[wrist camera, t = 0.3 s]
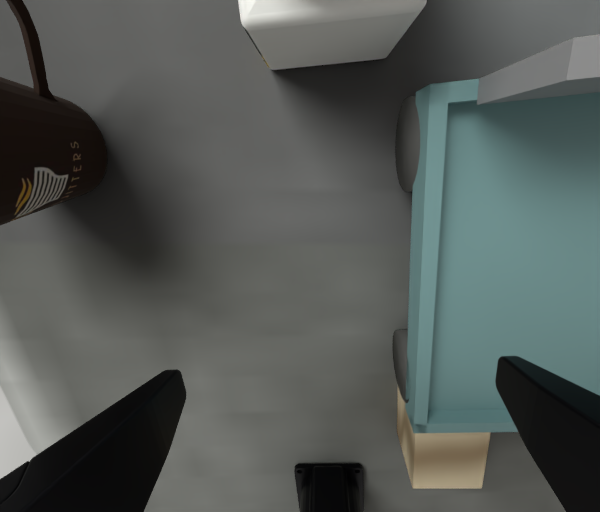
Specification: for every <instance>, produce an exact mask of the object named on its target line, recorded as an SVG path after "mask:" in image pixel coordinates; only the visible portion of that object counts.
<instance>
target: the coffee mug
mask: <svg viewBox="0 0 600 512" xmlns="http://www.w3.org/2000/svg"><path fill="white" fill-rule="evenodd" d="M6 1H7V2H8V4H9V6H10V8H11V10H12V11H13V13H14V15H15V16H16V18H17V20H18V22H19V25H20V28H21V31H22V35H23V39H24V43H25V47H26V51H27V56H28V60H29V65H30V70H31V74H32V78H33V83H34V89H33V88H31V87H28V86H25V85H22V84H19V83H16V82H13V81H10V80H7V79H5V78H2V77H0V225H2V224H5V223H8V222H10V221H13V220H16V219H18V218H21V217H24V216H26V215H29V214H32V213H34V212H37V211H40V210H43V209H45V208H48V207H51V206H53V205H56V204H59V203H61V202H64V201H67V200H69V199H72V198H75V197H77V196H80V195H83V194H85V193H88V192H89V191H91V190H93V189H94V188H95V187H96V186H98V185H99V183H100V182H101V180H102V179H103V177H104V174H105V171H106V167H107V150H106V146H105V142H104V139H103V137H102V135H101V132H100V130H99V129H98V127H97V126H96V124H95V122H94V121H93V120H92V119H91V118H90V117H89V115H88V114H87V113H86V112H84V111H83V110H82V109H81V108H80V107H78V106H77V105H75V104H73V103H72V102H70V101H67V100H65V99H62V98H59V97H57V96H54V95H52V93H51V92H50V91H49V89H48V83H47V79H46V72H45V66H44V61H43V56H42V51H41V46H40V41H39V37H38V34H37V31H36V29H35V26H34V24H33V21H32V19H31V16H30V14H29V12H28V10H27V8H26V6H25V4H24V3H23V1H22V0H6Z"/></svg>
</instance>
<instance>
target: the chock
mask: <svg viewBox="0 0 600 512" xmlns="http://www.w3.org/2000/svg"><path fill="white" fill-rule="evenodd" d="M397 434H398V437H399V441H400V444H401V448H402V452H403V455H404V459H405V462H406V466H407V470H408V473H409V477H410V480H411V484H412V488H413V489H482V484H483V478H484V471H485V465H486V459H487V453H488V446H489V440H490V434H491V432H477V433H413V430H412V427H411V424H410V421H409V418H408V415H407V412H406V409H405V402H404V400H403V399H402V396H401V394H400V391H399V387H398V404H397Z"/></svg>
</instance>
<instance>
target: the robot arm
mask: <svg viewBox="0 0 600 512" xmlns="http://www.w3.org/2000/svg"><path fill="white" fill-rule="evenodd" d="M495 383H496V388H497V390H498V393H499V395H500V397H501V399H502V400H503V402H504V404H505V406H506V408H507V410H508V412H509V414H510V416H511V418H512V420H513V422H514V424H515V426H516V428H517V430H518V432H519V434H520V436H521V438H522V440H523V442H524V444H525V446H526V447H527V449H528V451H529V452H530V454H531V456H532V458H533V459H534V461H535V462H536V464H537V466H538V467H539V469H540V470H541V472H542V473H543V475H544V477H545V478H546V480H547V481H548V483H549V485H550V486H551V488H552V489H553V491H554V493H555V494H556V496H557V497H558V499H559V501H560V502H561V504H562V505H563V507H564V509H565V510H566V512H600V396H599V395H597V394H595V393H593V392H591V391H589V390H587V389H585V388H583V387H581V386H579V385H577V384H575V383H573V382H570V381H568V380H566V379H564V378H562V377H560V376H558V375H556V374H554V373H552V372H550V371H548V370H546V369H544V368H542V367H539V366H537V365H535V364H533V363H531V362H529V361H527V360H525V359H523V358H521V357H519V356H501V357H500V358H499V359H498V364H497V372H496V379H495ZM185 400H186V389H185V386H184V382H183V378H182V375H181V372H180V371H179V370H165V371H163V372H161V373H160V374H158V375H157V376H155V377H154V378H152V379H151V380H149V381H148V382H146V383H145V384H143V385H142V386H140V387H139V388H137V389H136V390H134V391H133V392H131V393H130V394H128V395H127V396H125V397H124V398H122V399H121V400H119V401H118V402H116V403H115V404H113V405H112V406H110V407H109V408H107V409H106V410H104V411H103V412H101V413H100V414H98V415H97V416H95V417H94V418H92V419H91V420H89V421H88V422H86V423H85V424H83V425H82V426H80V427H79V428H77V429H76V430H74V431H73V432H71V433H70V434H68V435H66V436H65V437H63V438H62V439H60V440H59V441H57V442H56V443H54V444H53V445H51V446H50V447H48V448H47V449H45V450H44V451H42V452H41V453H39V454H38V455H36V456H35V457H33V458H32V459H31V460H30V462H28V461H27V462H26V463H24V464H23V465H21V466H20V467H18V468H17V469H15V470H14V471H12V472H11V473H9V474H8V475H6V476H5V477H3V478H1V479H0V512H144V509H145V507H146V505H147V502H148V500H149V498H150V495H151V493H152V491H153V488H154V486H155V484H156V481H157V479H158V477H159V474H160V472H161V470H162V467H163V465H164V463H165V460H166V458H167V455H168V453H169V450H170V447H171V444H172V441H173V438H174V435H175V432H176V428H177V425H178V422H179V419H180V416H181V413H182V410H183V407H184V404H185ZM295 479H296V486H297V493H298V501H299V508H300V512H363V511H364V497H363V470H362V466H361V465H360V464H297V465H296V466H295Z"/></svg>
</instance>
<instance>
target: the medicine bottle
mask: <svg viewBox="0 0 600 512" xmlns="http://www.w3.org/2000/svg"><path fill="white" fill-rule="evenodd" d="M238 1H239V10H240V18H241V23H242V26H243V27H244V29H245V31H246V32H247V34H248V35H249V37H250V39H251V40H252V42H253V43H254V45H255V47H256V48H257V50H258V51H259V53H260V55H261V56H262V58H263V59H264V61H265V63H266V64H267V66H268V67H269V68H270V69H271V70H279V69H289V68H298V67H308V66H318V65H328V64H338V63H348V62H357V61H367V60H377V59H384V58H386V57H387V56H388V55H389V54H390V52H391V51H392V50H393V48H394V47H395V45H396V44H397V43H398V41H399V40H400V39H401V37H402V36H403V35H404V33H405V32H406V31H407V29H408V28H409V27H410V25H411V24H412V23H413V21H414V20H415V19H416V17H417V16H418V15H419V13H420V12H421V11H422V9H423V8H424V7H425V5H426V2H427V0H238Z"/></svg>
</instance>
